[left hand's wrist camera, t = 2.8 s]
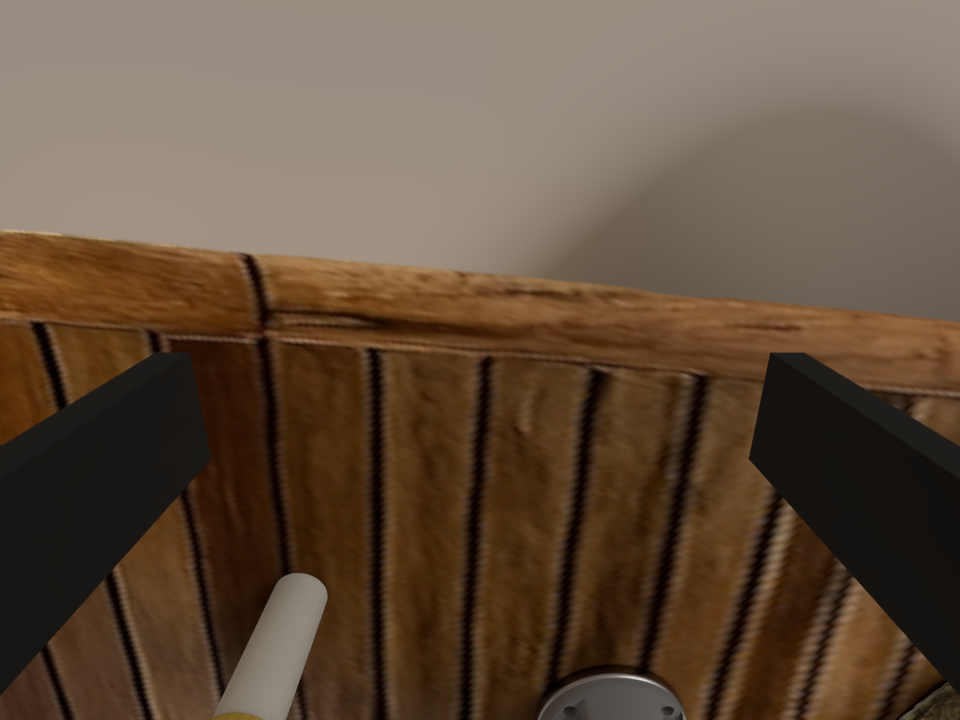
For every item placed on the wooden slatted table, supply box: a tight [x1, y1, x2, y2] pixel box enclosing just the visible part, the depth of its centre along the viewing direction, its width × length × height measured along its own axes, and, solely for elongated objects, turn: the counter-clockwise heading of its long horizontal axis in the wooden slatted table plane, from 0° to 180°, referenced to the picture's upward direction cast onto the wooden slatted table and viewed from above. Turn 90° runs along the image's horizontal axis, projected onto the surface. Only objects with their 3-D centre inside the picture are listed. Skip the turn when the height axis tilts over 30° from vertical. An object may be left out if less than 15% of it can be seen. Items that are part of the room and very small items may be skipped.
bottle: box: [213, 573, 328, 720], centre depth 43 cm, size 5×5×15 cm
